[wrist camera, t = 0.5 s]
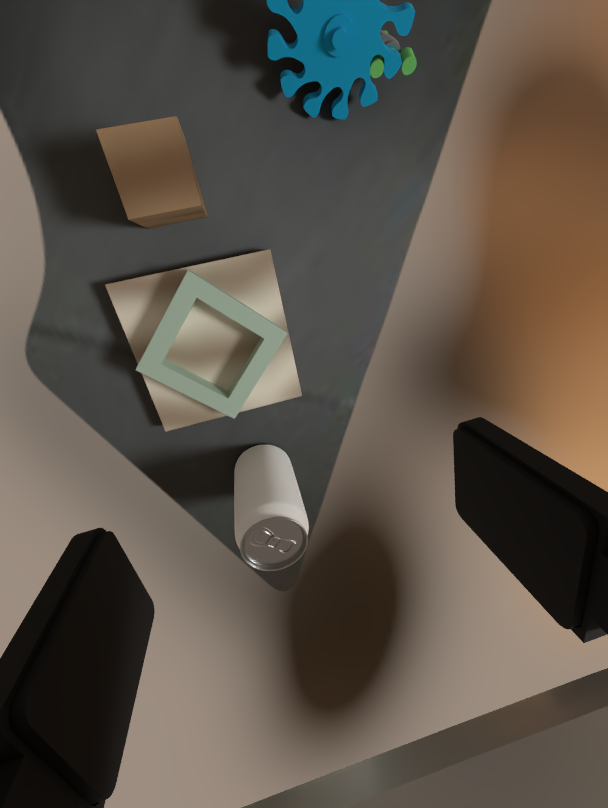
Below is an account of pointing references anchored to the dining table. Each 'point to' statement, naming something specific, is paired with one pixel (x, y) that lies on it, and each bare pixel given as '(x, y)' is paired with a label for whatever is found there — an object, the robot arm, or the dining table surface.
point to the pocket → (190, 382)
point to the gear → (341, 48)
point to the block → (153, 172)
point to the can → (268, 509)
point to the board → (209, 334)
